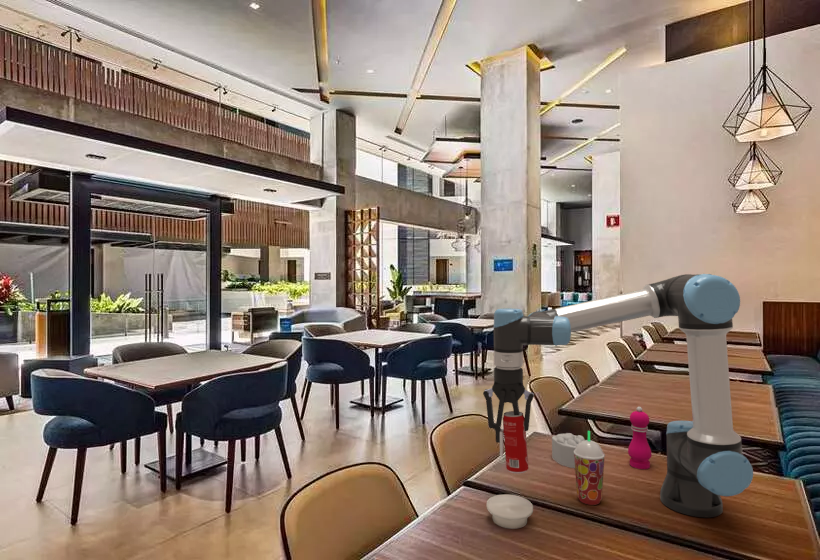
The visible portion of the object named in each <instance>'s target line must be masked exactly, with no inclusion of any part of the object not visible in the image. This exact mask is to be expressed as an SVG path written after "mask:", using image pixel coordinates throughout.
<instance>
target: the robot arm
mask: <svg viewBox="0 0 820 560" xmlns="http://www.w3.org/2000/svg"><path fill="white" fill-rule="evenodd" d="M740 306H741V295H740V293H739V291H738V289H737V287H736V286H735V285H734V284H733V283H732V282H731V281H730V280H729V279H727V278H725V277H723V276H720V275H715V274H712V273H701V274H698V273H697V274H691V273H690V274H689V273H688V274H680V275H676V276H673V277H670V278H667V279H664V280H660V281H657V282H654V283H649V284H645V285H644V286H643V288H642V289H638V290H635V291H630V292H623V293H621V294H616V295H612V296H608V297H607V296H606V297H603V298H598V299H597V298H596V299H594V300H589V301H588V300H587V301H585V302H584V301H583V302H580V303H576V304H571V305H570V304H569V305H567V306H566V305H565V306H561V307H557V308H554V309H548V310H544V311H540V310H537V311H533V312H531V313H530V314H528V315H527V316H526V315H524V313H523V309H520V308H505V307H504V308H497V309H496V310H494V313H493V365H494V368H493V385H492V387H491V388H488V389H487V388H486V389H484V390H483V394H482V395H483V397H484V399H485V401H486V402H485V403H486V404H485V405H486V412H487V423H488V428H489V429H493V430H494V431H495V442H496V444H499V457H501V458H502V457H503V456H504V455H505V454H504V453H505V444H504V430H503V428H502V424H503V416H504V409H505V404H506V403H509V404H511V405H512V409H513V410H512V411H514V415H519V412H520V407H519V400H520V399H521V397H522V396H523V395H524V399H525V409H524V418H525V419H524V430H525V431H526V432H528V431H529V428H530V420H531V419H530V417H531V406H532V401H533V400H534V397H535V393H534V392H533V391H528V390H527V389H526V387H525V386H524V369H523V368H522V367H523V366H524V358H523V357H524V348H523V347H524V345H525V346H533V345H534V346H554V347H557V346H567V345H568V344H570V342H571V337H572V336H571V335H572V333H573V332H579V331H582V330H583V331H584V330H588V329H592V328H593V329H594V328H597V327H602V326H603V327H604V326H607V325H613V324H617V323H621V322H626V321H631V320H636V319H641V318H645V317H652V318H653V319H659V318H663V317H677V319H678V321H677V322H678V329H679V330H680V331H681V332H683V333H684V334H685V337H686V350H687V361H688V362H687V364H688V377H689V386H690V387H689V388H690V402H691V414H692V420H672V421H670V422H668V423H667V426H666V433H665V435H666V474H665V477H664V480H663V483H662V485H661V488H660V491H659V492H660V493H659V496H660V497H659V498H660V501H661V503H662V504H663V505H664V506H666V507H667V508H669V509H671V510H673V511H674V512H677V513H680V514H683V515H686V516H690V517H697V518H714V517H718V516H720V515H721V514H722V513H723V511H724V507H723V506H724V505H723V504H724V503H723V499H722V497H733V496H737V495H739V494H741V493H743V492H744V491H745V490H746V489H748V488H749V486H750V485H751V484H752V481H753V479H754V470H753V465H752V464H751V463H750V460H749V459H748V458H747V457H746V456H745V455H743V444H742V437H741V436H740V435H739V434H738V433H737V432H736V431H735V430H734V427H733V426H734V425H733V412H732V411H733V409H732V398H731V384H730V373H729V370H730V369H729V355H728V344H727V342H728V341H727V334H728V333H730V331H731V330H732V329H734V325H733V318H734V317H735V315H736V314H737V313H738V312H739V310H740ZM493 393H494V394H495V396H496V398H497V399H498V400H499V401H498V407H497V415H496V422H495V420H494V419H495V418H494V407H493V395H494V394H493Z"/></svg>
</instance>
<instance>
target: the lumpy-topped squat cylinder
mask: <svg viewBox="0 0 820 560" xmlns="http://www.w3.org/2000/svg"><path fill="white" fill-rule="evenodd" d="M584 440H585V437H584V436H583V435H579V434H578V435H574V434H573V433H570V432H566V433H558V434H556V435H553V436H552V437H551V457H552V459H553V460H554V461H555V462H556V463H558V464H559V465H560V466H563V467H566V468H570V469H575V461H574V450H575V449H576V447H577V445H578V444H579V443H580V442H582V441H584Z"/></svg>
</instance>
